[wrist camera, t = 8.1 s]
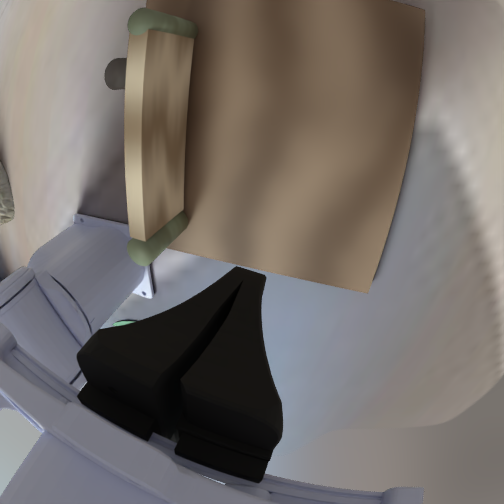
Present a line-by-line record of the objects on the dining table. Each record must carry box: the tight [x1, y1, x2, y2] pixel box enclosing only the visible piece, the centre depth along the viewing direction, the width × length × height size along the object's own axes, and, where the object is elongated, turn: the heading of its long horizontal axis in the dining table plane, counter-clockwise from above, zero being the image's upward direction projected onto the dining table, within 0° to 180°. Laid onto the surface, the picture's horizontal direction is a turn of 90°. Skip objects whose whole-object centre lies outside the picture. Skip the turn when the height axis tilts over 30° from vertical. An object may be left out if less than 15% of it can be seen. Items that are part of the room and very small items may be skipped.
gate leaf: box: [124, 8, 198, 266], centre depth 16 cm, size 16×2×5 cm, turn 174°
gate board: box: [105, 0, 425, 293], centre depth 16 cm, size 18×20×5 cm
